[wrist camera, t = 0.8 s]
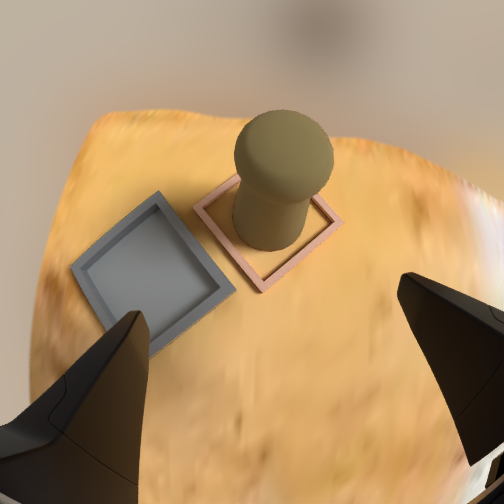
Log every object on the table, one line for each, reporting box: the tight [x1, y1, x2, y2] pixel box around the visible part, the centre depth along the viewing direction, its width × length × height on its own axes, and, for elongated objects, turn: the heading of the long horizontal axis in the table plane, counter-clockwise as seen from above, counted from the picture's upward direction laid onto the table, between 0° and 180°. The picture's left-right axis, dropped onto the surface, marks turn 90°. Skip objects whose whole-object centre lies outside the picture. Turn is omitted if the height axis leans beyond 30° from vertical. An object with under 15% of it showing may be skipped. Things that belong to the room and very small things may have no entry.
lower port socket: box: [70, 190, 237, 360], centre depth 21 cm, size 10×10×2 cm
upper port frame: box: [192, 174, 344, 293], centre depth 23 cm, size 9×9×1 cm
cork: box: [232, 110, 334, 252], centre depth 17 cm, size 6×6×11 cm
